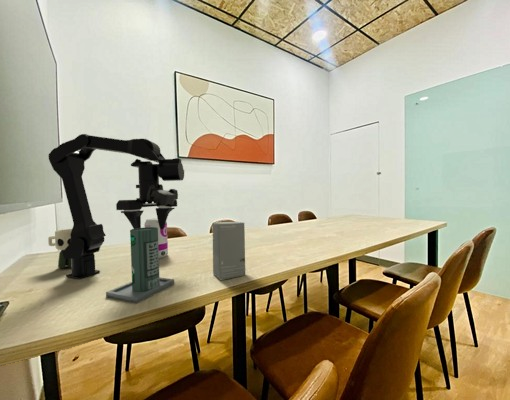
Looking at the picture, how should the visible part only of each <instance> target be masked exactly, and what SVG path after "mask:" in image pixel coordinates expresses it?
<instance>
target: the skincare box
mask: <svg viewBox="0 0 510 400" xmlns="http://www.w3.org/2000/svg"><path fill="white" fill-rule="evenodd" d="M211 226H212V227H211V228H212V274H213V275H214V276H215V277H216V278H217V279H218V280H219V281H224V280H228V279H234V278H238V277H243V276H246V240H245V237H246V235H245V234H246V233H245V230H246V229H245V222H242V221H240V222H239V221H221V222H220V221H217V222H215V221H214V222H212V224H211Z"/></svg>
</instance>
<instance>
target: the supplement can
mask: <svg viewBox="0 0 510 400" xmlns="http://www.w3.org/2000/svg"><path fill="white" fill-rule="evenodd" d="M143 225H144V227H143V228H146V227H156V228H158V251H159V259H163V258H165V257H167V255H168V254H169V248H168V247H169V246H168V245H169V244H168V243H169V242H168V240H169V239H168V222H167V221H166V223H165V226H164V229H160V227H159V223H158V218H156V217H155V218H148V219H145V222H144V224H143Z"/></svg>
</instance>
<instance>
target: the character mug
mask: <svg viewBox="0 0 510 400" xmlns="http://www.w3.org/2000/svg"><path fill="white" fill-rule="evenodd" d="M71 231H72V228H68V229H67V228H66V229H59V230H55V231H54V235H53V236H49V237H48V246H50V247H55V248H56V249H55V250H58V251H60V252H59V255H58V261H57V262H58V265H57V268H58V269H65V268H66V267H68V268H71V259H64V256H63V254H62V252H63V251H64V250H65V249H66V248H67V246H68V245H69V244H70V243H71V236H70V234H71ZM53 240H54V242H53Z"/></svg>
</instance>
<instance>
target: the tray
mask: <svg viewBox="0 0 510 400" xmlns="http://www.w3.org/2000/svg"><path fill="white" fill-rule="evenodd" d="M159 279H160V285H159V286H157V287H155V288H153V289H151V290H149V291H147V292H146V291H145V292H134V291H132V281H130V282H128V283H125V284H123V285H120V286H118V287H115V288H113V289H110V290H108V291H106V292H105V298H108V299H114V300H119V301H122V302H123V301H124V302H128V303H132V304H133V303H134V304H138V303H141V302H143V301H144V300H146V299H149V298H150V297H151V296H154V295H156V294H158V293H159V292H161V291H163V290H166V289H168V288H169V287H172V285H175V279H174V278H166V277H160V276H159Z"/></svg>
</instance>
